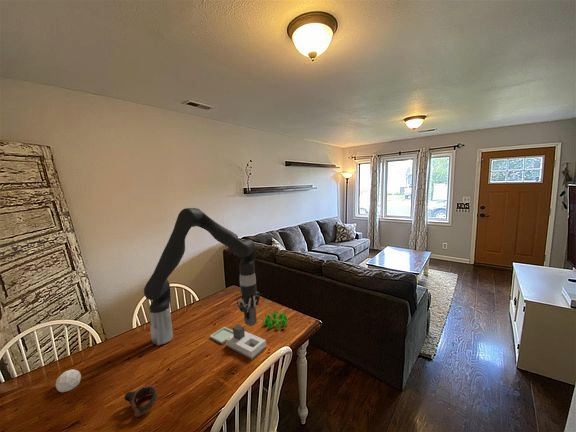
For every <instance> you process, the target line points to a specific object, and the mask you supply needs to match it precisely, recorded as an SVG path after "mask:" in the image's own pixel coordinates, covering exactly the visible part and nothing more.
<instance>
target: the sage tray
mask: <svg viewBox="0 0 576 432" xmlns="http://www.w3.org/2000/svg"><path fill="white" fill-rule="evenodd" d="M232 334H233V329H230V328H228V327H227V326H223V327H222V328H219V330H216V331H215V332H214V333H212V334H210V335H209V339H211V340H213V341H216V343H219V344H221V345H223V344H226V338H228V337H229V336H231V335H232Z"/></svg>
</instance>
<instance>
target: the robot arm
mask: <svg viewBox="0 0 576 432" xmlns="http://www.w3.org/2000/svg"><path fill="white" fill-rule="evenodd" d="M195 227H198V228H201V229H204V230H205V231H207V232H208V233H209V234H210V235H211V236H212V237H213V239H215V241H217V242H219V243H220V244H222V245H224V246H225V247H227V248H228V249H229V250H230V251H232V253H233V254H234V255H236V256H237V257H240V258H241V260H240V262H239V265H238V266H239V268H238V269H239V287H240V288H239V289H240V294H241V297H240V298H241V299H240V300H239V301H237V302H236V304H237V307H238V309H239V311H240V312H242V313H243V315H244V316H245V318H246V319H249V307H250V305H251V306H254V307H256V308H257V306H258V305H259V302H260V297H261V292H259V291H257V277H256V270H255V261H256V255H257V254H256V253H257V252H256V251H257V249H256V248H257V247H256V243H255V242H254V241H253V240H251V239H245V240H243V241H241V240H240V239H239V237H238V235H237V234H236V233H235V232H233V231H231V230H230V229H228V228H226V227H224V226H222V225H221V224H219V223H218V222H216V221H215V220H214V219H212V218H211V217H209V216H208V215H207V214H206V213H205V212H204V211H202V210H201V209H199V208H196V207H187V208H183V209H181V210H180V212H179V213H178V216H177V218H176V219H175V223H174V226H173V230H172V232H171V234H170V236H169V239H168V241H167V243H166V245H165V246H164V249H163V252H162V253H161V255H160V258H159V260H158V261H157V264H156V266H155V268H154V270H153V272H152V274H151V276H150V278H149V279H148V280H147V282H146V284H145V286H144V289H143V294H144V297H145V298H146V299H147V300H149V301H152V302H151V303H150V305H149V313H150V324H149V329H150V336H151V343H152V344H154V345H156V346H161V345H165V344H167V343H169V342H170V341H171V340H172V339H173V338H174V332H173V324H172V314H171V313H172V312H171V300H172V298H171V297H172V296H171V285H170V282H169V280H168V278H169V277H170V276H171V274H172V273H173V272H174V271H175V269H176V268H177V267H178V266H179V264H180V262H181V261H182V258H183V257H184V254H185V252H186V238H187V235H188V234H189V231H190V230H191V228H195ZM246 307H247V309H246Z"/></svg>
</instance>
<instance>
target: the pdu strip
mask: <svg viewBox="0 0 576 432" xmlns="http://www.w3.org/2000/svg"><path fill="white" fill-rule="evenodd" d="M232 330H233V334H232V335H231V336H229V337H228V338H226V342H225V347H227V348H229V349H231V350H232V351H234V352H236V353H238V354H240V355H242V356H243V357H245V358H247V359H250V360H251V361H252V360H254V359H255V358H256V357H258V355H260V354H261V353H262V352H263V351H265V350H266V349H267V340H266V339H264V338H262V337H259V336H257V335H255V334H252V333H250V332H247V331H245V327H244V326H243V325H240V324H236V325H235V326H233V327H232Z"/></svg>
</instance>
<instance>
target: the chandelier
mask: <svg viewBox="0 0 576 432" xmlns="http://www.w3.org/2000/svg"><path fill="white" fill-rule="evenodd" d="M277 314H278V311H273V312H272V316H271V315H270V314H266V315H265V318H264V319H263V321H262V324H263V325H264V326H267V328H268V330H270V329H272V328H273V326H274V323H275V329H276V330H279V329H280V328H281V327H280V325H281V326H282V327H287V325H288V321H289V320H290V318H289V316H288V315H287V314H285V315H284V312H283V311H282V312H280V313H279V315H278V317H277Z"/></svg>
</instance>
